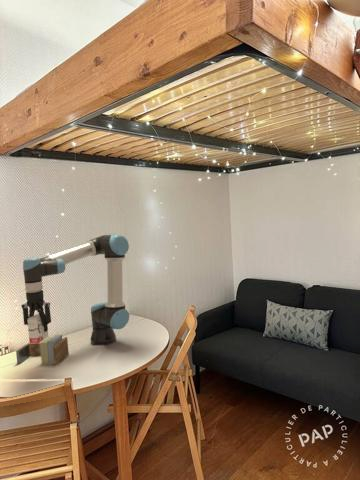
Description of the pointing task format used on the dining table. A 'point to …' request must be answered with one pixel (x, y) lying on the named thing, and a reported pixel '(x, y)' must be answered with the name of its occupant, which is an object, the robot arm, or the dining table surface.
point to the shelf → (59, 349)
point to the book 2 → (51, 343)
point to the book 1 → (44, 351)
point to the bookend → (23, 354)
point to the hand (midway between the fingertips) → (39, 338)
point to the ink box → (35, 329)
